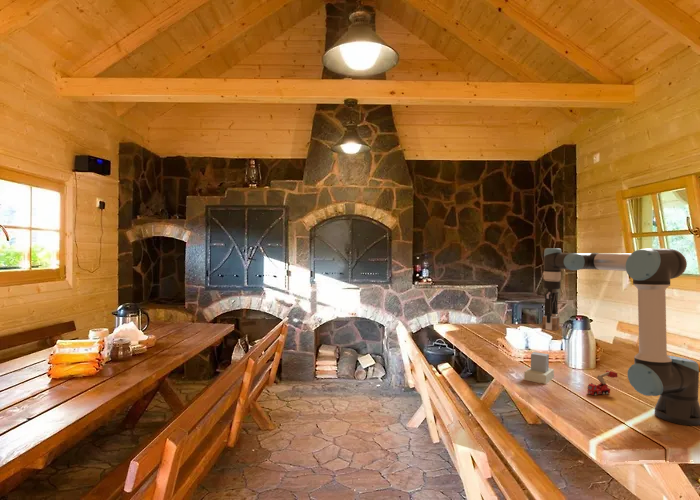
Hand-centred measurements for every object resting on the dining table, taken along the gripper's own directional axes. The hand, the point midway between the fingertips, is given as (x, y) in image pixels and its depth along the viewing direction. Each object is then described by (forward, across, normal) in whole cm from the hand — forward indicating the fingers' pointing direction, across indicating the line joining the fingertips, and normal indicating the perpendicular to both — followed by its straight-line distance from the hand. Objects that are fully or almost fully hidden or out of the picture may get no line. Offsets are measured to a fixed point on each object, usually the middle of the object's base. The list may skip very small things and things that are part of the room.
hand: (550, 328), depth 215 cm
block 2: (0, 0, 0) cm, 0 cm away
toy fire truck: (+26, +3, +23) cm, 35 cm away
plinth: (+26, -2, -5) cm, 26 cm away
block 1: (+22, -2, -5) cm, 22 cm away
